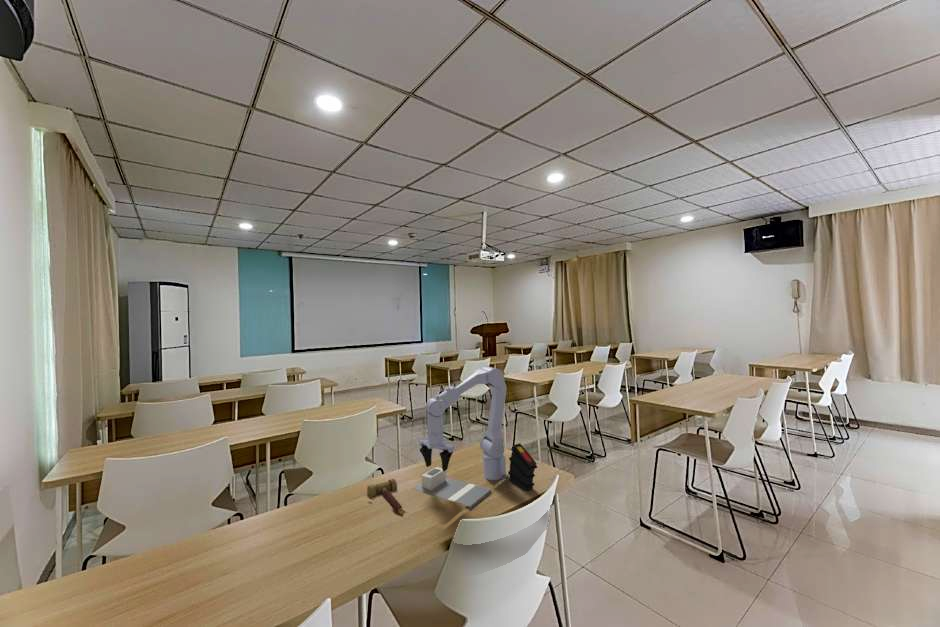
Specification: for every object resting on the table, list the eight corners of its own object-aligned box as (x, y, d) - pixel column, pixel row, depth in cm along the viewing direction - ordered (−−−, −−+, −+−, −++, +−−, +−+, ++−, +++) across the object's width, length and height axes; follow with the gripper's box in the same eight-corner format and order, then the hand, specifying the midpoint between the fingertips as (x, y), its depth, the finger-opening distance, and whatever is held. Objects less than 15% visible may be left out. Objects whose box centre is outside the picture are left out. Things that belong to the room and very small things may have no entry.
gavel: (416, 502, 129) (387, 511, 124) (416, 515, 129) (387, 525, 124) (392, 476, 147) (366, 483, 141) (392, 487, 147) (367, 495, 141)
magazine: (511, 471, 154) (520, 442, 148) (530, 497, 143) (541, 467, 138) (503, 473, 152) (512, 444, 146) (522, 500, 142) (533, 470, 136)
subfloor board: (435, 476, 155) (435, 474, 155) (491, 492, 140) (491, 489, 140) (412, 491, 143) (411, 488, 143) (469, 509, 129) (469, 506, 129)
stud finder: (437, 478, 151) (436, 466, 151) (445, 480, 149) (445, 468, 149) (422, 487, 144) (421, 474, 144) (431, 490, 141) (430, 477, 141)
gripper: (413, 431, 142) (414, 468, 143) (445, 437, 135) (446, 476, 135) (425, 426, 148) (426, 461, 149) (456, 432, 141) (457, 468, 141)
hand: (436, 468), depth 142 cm, fingers open, 7 cm apart
